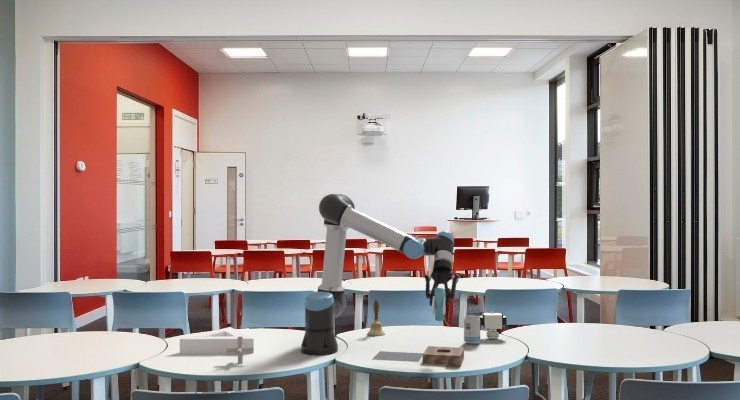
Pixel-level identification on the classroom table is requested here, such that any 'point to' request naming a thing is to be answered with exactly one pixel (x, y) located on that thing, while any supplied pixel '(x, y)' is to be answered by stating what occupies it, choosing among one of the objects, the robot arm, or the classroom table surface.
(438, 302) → the peg
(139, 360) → the classroom table surface
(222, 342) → the triangle block
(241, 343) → the pipe connector
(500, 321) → the pneumatic valve
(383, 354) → the mat
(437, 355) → the hole block
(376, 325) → the hand bell
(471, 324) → the beverage can
